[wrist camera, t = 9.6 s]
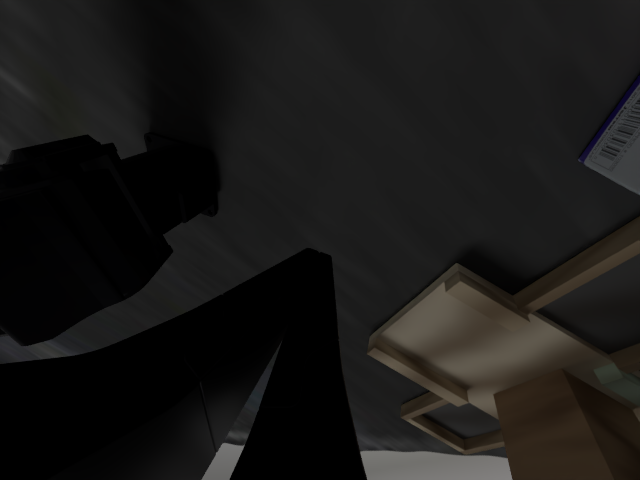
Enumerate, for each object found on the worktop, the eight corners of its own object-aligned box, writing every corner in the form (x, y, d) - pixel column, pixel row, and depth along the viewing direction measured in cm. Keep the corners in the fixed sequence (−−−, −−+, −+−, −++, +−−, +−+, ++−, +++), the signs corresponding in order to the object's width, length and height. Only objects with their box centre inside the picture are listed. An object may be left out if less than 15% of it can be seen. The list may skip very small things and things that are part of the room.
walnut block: (493, 394, 26) (521, 518, 19) (561, 368, 22) (631, 517, 14) (552, 428, 26) (603, 565, 19) (632, 409, 22) (736, 577, 15)
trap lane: (334, 366, 34) (326, 397, 31) (567, 168, 15) (607, 195, 12) (484, 453, 34) (491, 492, 31) (895, 366, 15) (1019, 444, 12)
